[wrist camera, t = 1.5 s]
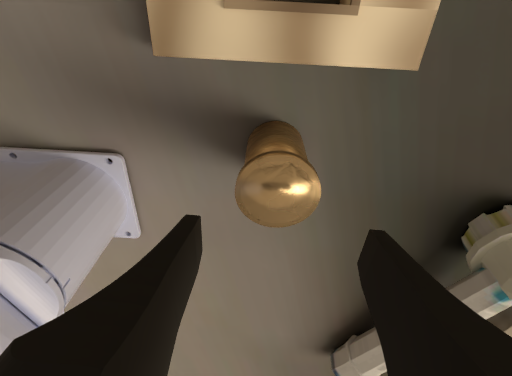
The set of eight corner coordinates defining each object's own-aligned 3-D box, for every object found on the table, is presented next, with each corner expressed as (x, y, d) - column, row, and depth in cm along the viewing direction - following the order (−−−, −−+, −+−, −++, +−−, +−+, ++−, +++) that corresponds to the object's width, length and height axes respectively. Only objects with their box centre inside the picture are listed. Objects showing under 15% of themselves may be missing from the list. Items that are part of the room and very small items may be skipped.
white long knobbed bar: (327, 382, 31) (580, 267, 16) (321, 322, 36) (509, 190, 21) (366, 393, 32) (640, 295, 17) (356, 333, 37) (558, 215, 22)
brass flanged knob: (242, 174, 21) (234, 225, 16) (243, 114, 19) (235, 153, 14) (302, 177, 21) (313, 229, 16) (311, 118, 19) (328, 158, 14)
